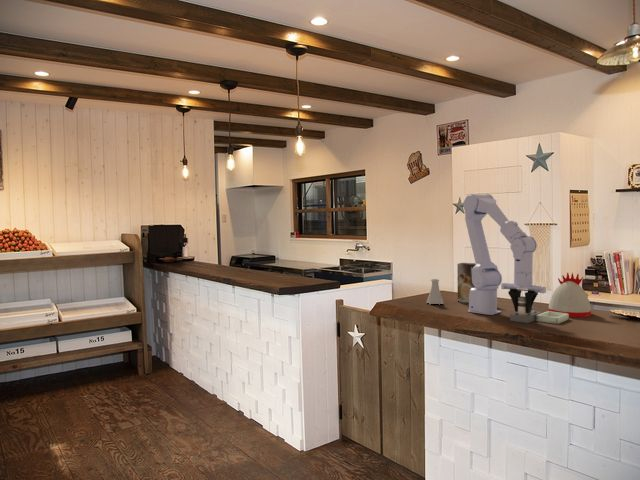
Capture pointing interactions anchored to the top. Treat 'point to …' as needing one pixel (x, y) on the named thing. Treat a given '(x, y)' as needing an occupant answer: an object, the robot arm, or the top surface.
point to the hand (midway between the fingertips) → (522, 312)
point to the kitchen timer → (570, 298)
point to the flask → (435, 293)
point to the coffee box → (464, 281)
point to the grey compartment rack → (522, 318)
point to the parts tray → (552, 317)
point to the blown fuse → (522, 306)
